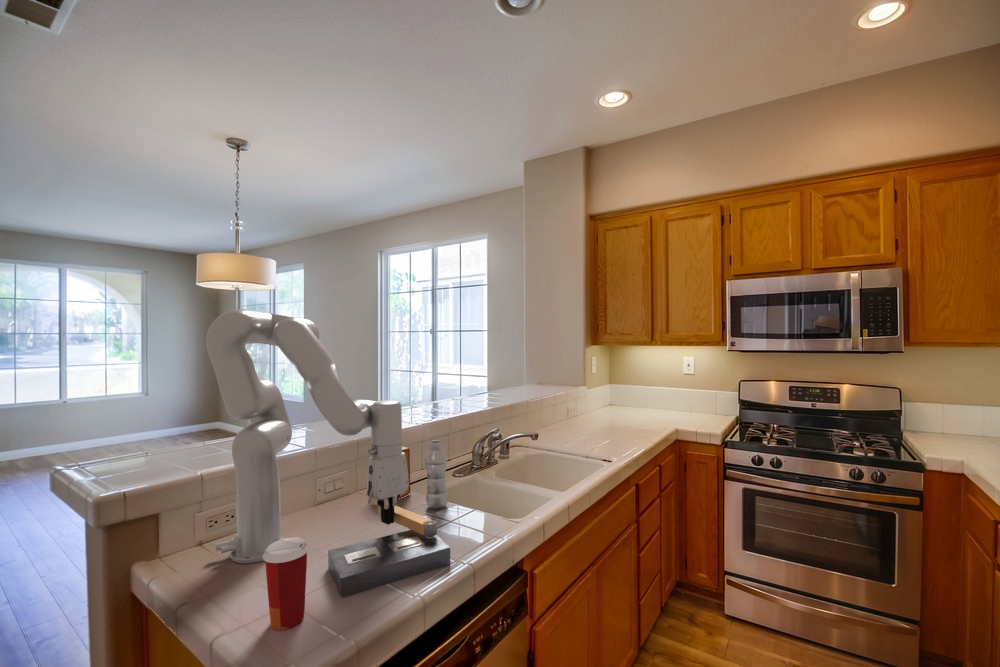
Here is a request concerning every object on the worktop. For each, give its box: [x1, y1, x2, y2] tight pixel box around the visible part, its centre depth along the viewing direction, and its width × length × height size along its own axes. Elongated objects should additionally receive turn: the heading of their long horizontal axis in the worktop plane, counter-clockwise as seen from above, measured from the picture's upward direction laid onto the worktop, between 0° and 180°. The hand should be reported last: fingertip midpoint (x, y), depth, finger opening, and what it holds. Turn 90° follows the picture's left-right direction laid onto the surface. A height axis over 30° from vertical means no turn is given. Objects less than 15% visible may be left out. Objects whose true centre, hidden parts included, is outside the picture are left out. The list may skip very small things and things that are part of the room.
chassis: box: [327, 529, 451, 599], centre depth 102 cm, size 24×14×5 cm, turn 121°
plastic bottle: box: [424, 440, 449, 510], centre depth 137 cm, size 6×7×20 cm
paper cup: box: [263, 537, 310, 632], centre depth 83 cm, size 8×8×14 cm
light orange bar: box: [377, 505, 438, 537], centre depth 113 cm, size 22×3×2 cm, turn 48°
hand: (387, 522), depth 113 cm, fingers closed
